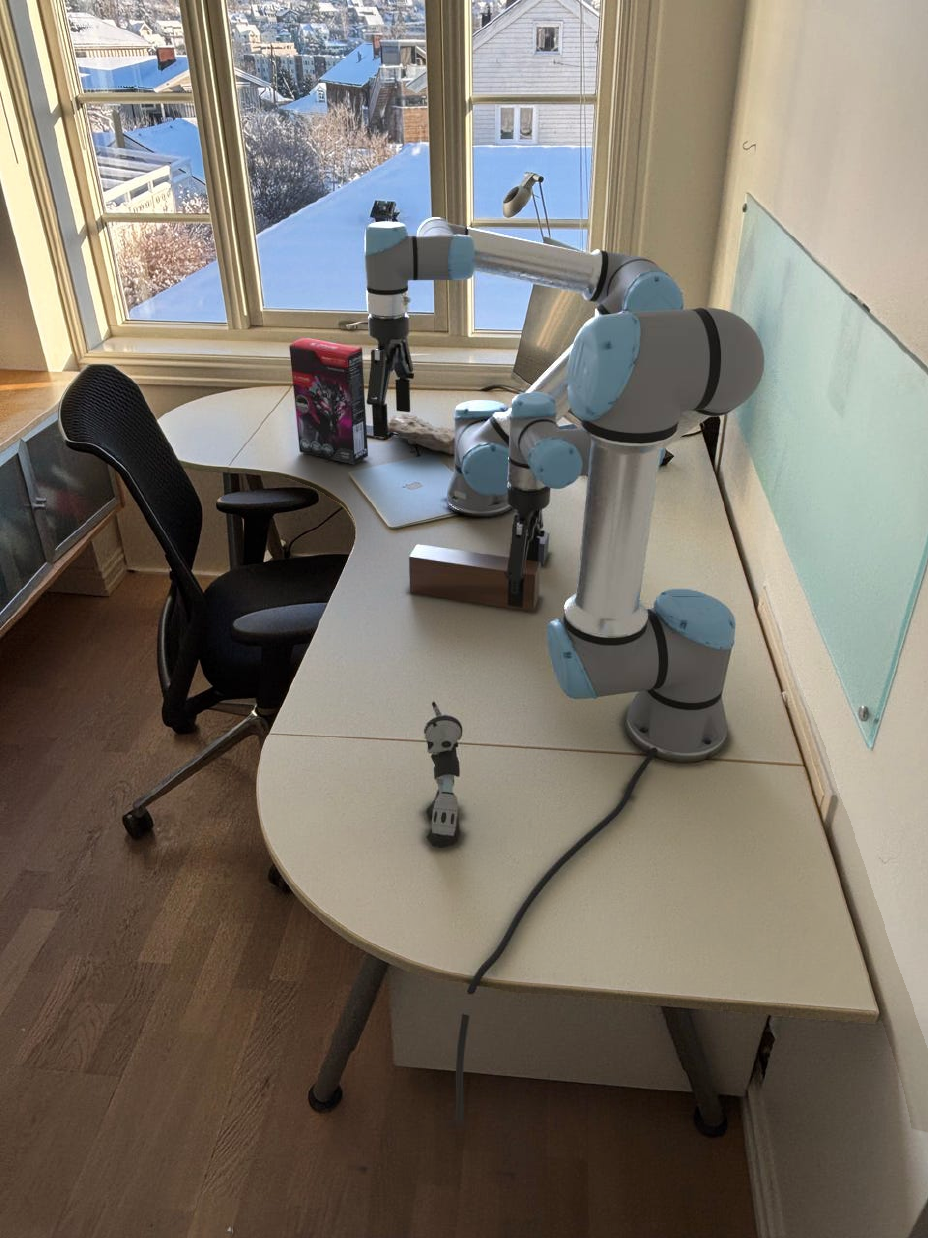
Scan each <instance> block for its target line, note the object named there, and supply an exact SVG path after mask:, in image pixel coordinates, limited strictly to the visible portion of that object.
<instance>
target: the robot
mask: <svg viewBox="0 0 928 1238" xmlns="http://www.w3.org/2000/svg"><path fill="white" fill-rule="evenodd" d="M431 706H432V708H433V711H434V714H435V716H434V717H432V718H431V719H430V720H429V721H428V722H425V723H426V724H425V726H424V728H423V734H424V740H426V744H427V746H426V747H427V753H428V754H430V758H431V760H432V763H433V764H434V766H433V775H434V777H433V778H434V780H435V782H436V784H437V788H438V789H437V791H436V794H435V796H434V799H433V800H432V802H431V803H430V805H429V806H428V807H427V809H426V811H425V812H426V814H427V817H428V819H429V820H430V821H431V826H430V829H429V830H428V832H427V836H426V839H427V841H429V842H430V844H431V845H432V846H434V847H438V848H443V847H445V848H446V847H449V846H451V845H453V844H455V843H458V841H459V838H460V835H461V830H460V823H459V820H458V816H459V815H460V812H459V803H458V798H457V795H455V793H454V792H453V790H454V789H453V788H454V786H455V779H454V778H455V777H457V778H459V777H460V774H461V769H460V761H459V757H458V755H457V754H458V752H457V748H458V747H459V743H458V741H460V740H461V738H462V737H463V726H462V723H461V721H460V720H459V719H458V718H455V716H452V715H450V714H447V713H446V714H442V712H441V710H440V709H439V706H438V705H437V703H436V702H435V701H432V702H431Z"/></svg>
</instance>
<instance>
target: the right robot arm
mask: <svg viewBox="0 0 928 1238" xmlns="http://www.w3.org/2000/svg"><path fill="white" fill-rule="evenodd" d="M572 344H573V346H572V349H571V352H570V357H569V362H568V369H567V384H568V391H567V396H568V401H569V405H570V408H571V409H570V411H571V412H572V414H573V415H574V416H575V417H576V418H578V419H580V427H576V428H565V429H563V428H561V427H560V426H559V424H558V423H556V415H557V413H556V401H555V399H554V398H553V397H552V396H550V395H548V394H545V393H541V392H527V391H525V392H522V393H519V394H517V395H515V396H514V397H513V399H512V400H511V404H510V405H511V406H510V408H511V412H510V416H509V419H510V435H509V457H508V475H507V480H508V484H507V502H508V504H509V505H510V506H511V507H512V508H513V509H515V510H516V511H517V512H516V513H515V514H514V518H513V522H512V525H511V528H512V529H511V540H510V547H509V554H508V557H509V561H508V568H507V572H504V576H506V579H509V584H508V606H514V607H521V608H522V607H523V598H524V581H525V575H524V574H523V573H524V568H525V562H526V560H531V561H538V562H539V548H540V538H538V536H539V537H544V534H545V532H546V531H545V530H542V529H543V528H544V521H543V519H544V518H543V510H544V509H545V508H547V507H548V506H549V504H550V502H551V490H552V489H554V490H561V489H565V488H567V487H568V486H570V485H572V484H574V483H575V482H576V481H577V480H578V479H579V477H583V476H587V479H586V480H587V482H586V489H585V490H586V492H585V500H584V501H585V502H584V511H583V521H582V533H581V542H580V551H579V552H580V553H579V563H578V573H577V584H576V593H574V594H572V595H571V596H569V598H567V600H566V602H565V603H564V607H563V616H562V618H555V619H553V620H551V621H550V622H549V623H548V625H547V628H546V641H547V648H548V654H549V658H550V662H551V666H552V670H553V673H554V676H555V678H556V682H557V683H558V685H559V687H560V689H561V691H562V692H563V694H564V695H565V696H566V697H568V698H570V699H573V700H583V699H584V700H585V699H593V700H596V699H598V698H601V697H609V696H615V695H623V694H629V693H630V694H631V693H636V694H635V695H634V697H633V699H632V701H631V702H630V704H629V705H628V707H627V711H626V719H625V728H626V732H627V734H628V736H629V738H630V739H631V741H632V742H634V744H636V745H637V746H638V747H639V748H640V749H641V750H643V751H645V752H646V753H648V754H647V756H646V757H645V758H644V760H643V761H642V762H641V764H640V765H639V767H638V768H637V769H636V771H635V773H634V774H633V776H632V778H631V779H630V781H629V783H628V785H627V787H626V789H625V792H624V794H623V796H622V798H621V799H620V801H619V803H618V804H617V805H616V807H615V808H614V809H613V810H612V811H611V812H610V813H608V815H607V816H605V818H603V819H602V820H601V821H600V822H599V823H598V824H596V825H595V826H593V828H592V829H590V830H589V831H587V833H586V834H585V835H584V836H582V837H581V839H579V840H578V841H577V842H576V843H575V844H574V845H573V846H572V847H570V848H569V849H568V850H567V851H566V852H565V853H564V854H563V855H562V856H561V857H560V858H559V859H558V860H557V861H556V862H555V863H554V864H553V865H552V866H551V867H550V868H549V870H547V871H546V873H545V874H544V875H543V876H542V877H541V879H540V880H539V881H538V882H537V883H536V885H535V886H534V888H532V890H531V891H530V892H529V894H528V896H527V897H526V899H525V900H524V902H523V903H522V904H521V906H520V907H519V909H518V910H517V912H516V914H515V916H514V917H513V919H512V921H511V923H510V925H509V926H508V929H507V930H506V932H505V934H504V936H503V938H502V939H501V941H500V943H499V944H498V946H497V947H496V948H495V950H494V951H493V953H492V954H491V955H490V956H489V957H488V958H487V959H486V960H485V961H484V962H483V963H482V964H481V966H480V967H479V968H478V969H477V971H476V972H475V973H474V976H473V978H472V979H471V982H470V983H469V986H468V989H467V990H466V992H467V995H473V994H475V992H476V991H477V988H478V986H479V984H480V982H481V980H482V979H483V977H484V976H485V974H486V973H487V971H488V970H489V969H490V968H492V967H493V966H494V964H495V963H496V962H497V961H498V960H499V958H500V957H501V956H502V954H503V953H504V951H505V950H506V948H507V946H508V945H509V943H510V942H511V939H512V938H513V937H514V934H515V932H516V931H517V928H518V927H519V924H520V923H521V921H522V919H523V917H524V916H525V914H526V913H527V911H528V909H529V908H530V906H531V905H532V903H533V902H534V901H535V900H536V898H537V896H538V895H539V893H540V892H541V891H542V890H543V889H544V887H545V886H546V885H547V884H548V883H549V881H550V880H551V879H552V878H553V877H554V875H555V874H557V872H558V871H559V870H560V869H561V868H562V867H563V866H564V865H565V864H566V862H568V861H569V860H570V859H571V858H572V857H573V856H574V855H575V854H576V853H578V851H580V850H581V849H582V848H583V847H585V845H586V844H587V843H588V842H590V840H592V838H594V837H595V836H596V835H597V834H598V833H600V832H601V831H602V830H603V829H604V828H606V827H607V826H608V825H609V824H610V823H611V822H613V821H614V819H616V818H617V816H618V815H619V814H620V813H621V812H622V810H623V809H624V807H625V806H626V804H627V803H628V802H629V800H630V797H631V795H632V793H633V791H634V788H635V786H636V784H637V783H638V781H639V779H640V778H641V775H643V772H645V770H646V769H647V767H648V765H649V764H650V763H651V761H652V760H653V758H654V757H656V758H659V759H662V760H666V761H670V762H675V763H694V762H700V761H703V760H706V759H709V758H711V757H714V755H716V754H718V752H720V751H721V750H722V748H723V747H724V744H725V743H726V740H727V739H726V738H727V734H728V721H727V716H726V712H725V708H724V707H725V706H724V701H723V692H724V686H725V682H726V678H727V672H728V668H729V664H730V659H731V654H732V651H733V650H732V649H733V648H734V646H735V637H736V636H735V635H736V618H735V616H734V614H733V612H732V611H731V609H730V608H729V607H728V606H727V605H726V604H725V603H723V602H722V601H721V600H719V599H717V598H715V596H712V595H709V594H707V593H704V592H701V591H699V590H698V591H697V590H694V589H689V588H670V589H667V590H666V589H665V590H664V591H662V592H661V593H660V594H658V595H657V597H656V599H654V602H653V607H652V608H647V607H646V606H645V604H644V603H643V602H642V601H641V600H640V597H641V592H642V586H643V579H644V571H645V563H646V558H647V550H648V543H649V536H650V530H651V524H652V523H651V522H652V516H653V509H654V502H655V496H656V488H657V481H658V474H659V467H660V466H661V465H662V464H663V459H664V458H665V454H666V452H667V451H666V450H667V449H666V448H667V447H669V446H670V445H672V444H674V443H675V442H676V441H677V440H679V439H681V438H682V437H683V436H685V435H686V434H687V433H689V432H690V431H692V430H693V429H694V428H696V427H697V426H699V425H700V424H702V423H703V422H705V421H706V420H707V419H709V418H711V417H712V418H714V417H716V418H717V417H723V416H726V415H728V414H729V413H731V412H733V411H734V410H736V409H737V408H738V407H740V406H742V405H743V404H744V403H745V402H747V400H748V399H750V397H751V396H753V394H754V393H755V391H756V390H757V389H758V387H759V385H760V383H761V380H762V377H763V374H764V370H765V353H764V348H763V345H762V342H761V340H760V338H759V336H758V334H757V331H756V330H754V328H753V327H752V326H751V325H750V324H749V323H748V322H747V321H746V320H745V319H743V317H740V316H739V315H738V314H736V313H734V312H731V311H728V310H726V309H721V308H716V307H697V308H683V310H665V311H643V312H630V311H622V312H619V313H616V314H608V315H600V316H596V317H595V316H593V317H592V318H589V319H588V320H587V321H586V322H585V323H584V324H583V326H582V327H581V328H580V329H579V331H578V332H577V334H576V336H575V338H574V340H573V343H572ZM469 1023H470V1015H468V1014H465V1013H462V1014H461V1019H460V1027H459V1033H458V1040H457V1049H456V1063H455V1124H456V1125H457V1126H461V1125H462V1124H463V1113H464V1066H465V1065H464V1062H465V1050H466V1042H467V1041H466V1040H467V1036H468V1035H467V1034H468V1028H469Z"/></svg>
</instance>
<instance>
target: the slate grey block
mask: <svg viewBox="0 0 928 1238" xmlns="http://www.w3.org/2000/svg"><path fill="white" fill-rule="evenodd" d="M538 538H540V548H539V562H541V567H543V566H544V565H545V563H546V561H547V557H548V555H549V545H550V544H549V543H550V532H547V531H545V534H544V537H539V536H538Z"/></svg>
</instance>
